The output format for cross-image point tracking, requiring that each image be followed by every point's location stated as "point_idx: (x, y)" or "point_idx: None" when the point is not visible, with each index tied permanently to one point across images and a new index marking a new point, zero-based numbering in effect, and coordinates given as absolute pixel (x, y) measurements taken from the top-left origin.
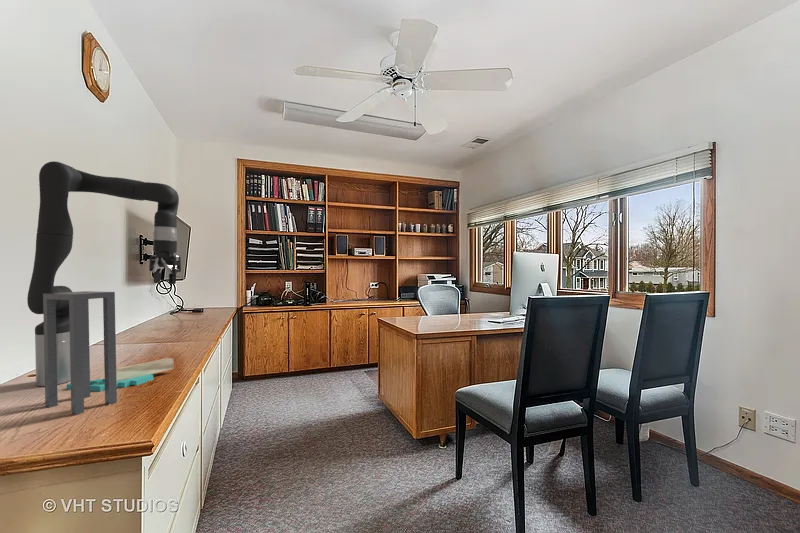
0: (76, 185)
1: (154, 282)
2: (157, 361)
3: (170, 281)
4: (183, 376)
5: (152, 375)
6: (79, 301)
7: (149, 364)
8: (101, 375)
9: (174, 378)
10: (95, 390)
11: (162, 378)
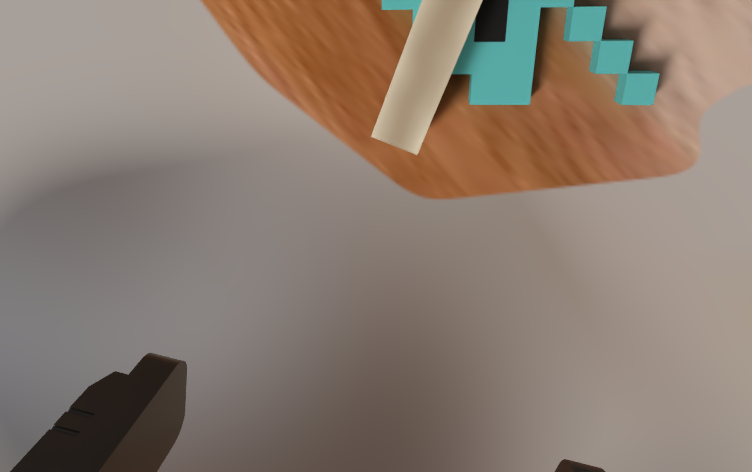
0: None
1: (582, 465)
2: (414, 80)
3: (128, 382)
4: (289, 80)
5: (382, 4)
6: None
7: (413, 23)
8: (720, 33)
9: (303, 45)
10: None
11: (358, 36)
